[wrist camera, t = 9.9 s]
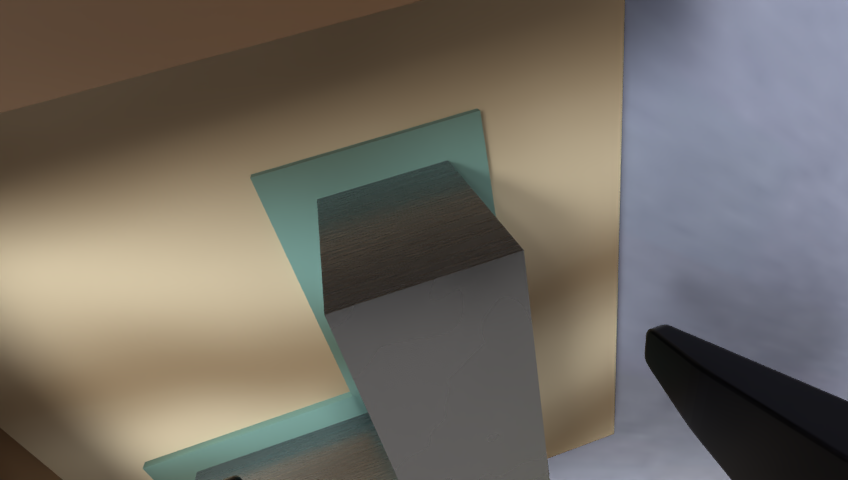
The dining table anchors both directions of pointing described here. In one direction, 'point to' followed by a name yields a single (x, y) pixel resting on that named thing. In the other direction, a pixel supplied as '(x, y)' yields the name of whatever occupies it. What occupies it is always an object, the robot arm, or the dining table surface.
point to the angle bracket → (420, 341)
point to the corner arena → (276, 209)
